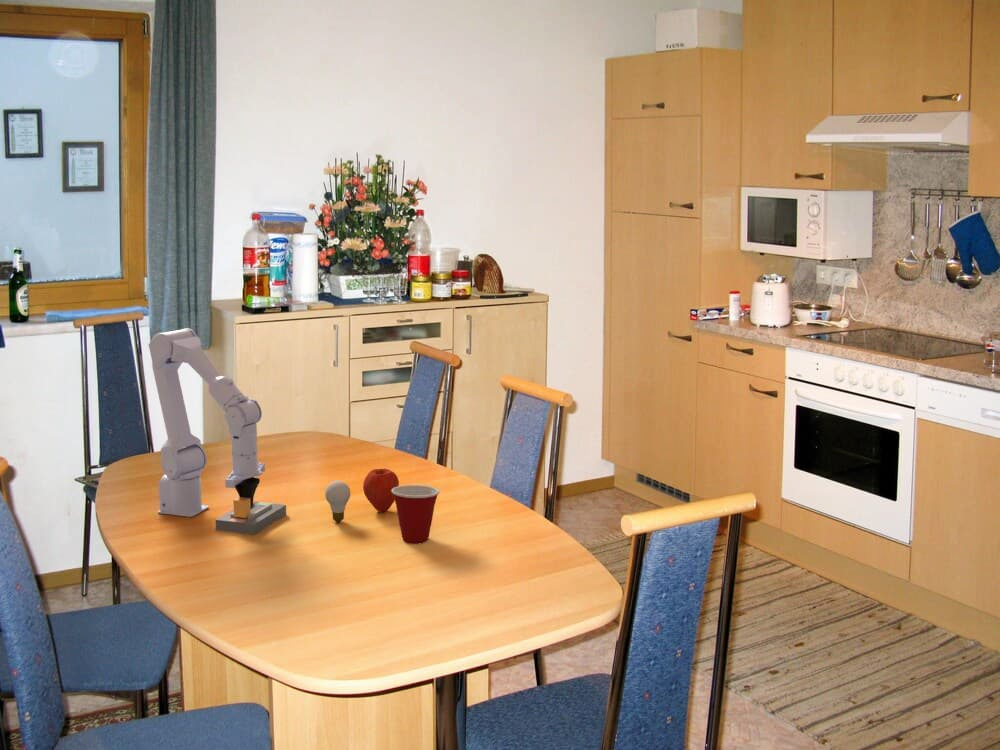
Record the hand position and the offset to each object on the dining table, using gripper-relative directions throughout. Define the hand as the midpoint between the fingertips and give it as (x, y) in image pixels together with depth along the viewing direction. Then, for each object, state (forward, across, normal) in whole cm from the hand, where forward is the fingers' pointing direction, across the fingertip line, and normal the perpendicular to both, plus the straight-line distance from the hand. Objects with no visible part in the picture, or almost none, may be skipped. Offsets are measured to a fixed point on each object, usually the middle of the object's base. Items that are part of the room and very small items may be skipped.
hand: (246, 509), depth 260 cm
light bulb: (+4, +9, -19) cm, 21 cm away
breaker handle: (+1, -2, 0) cm, 2 cm away
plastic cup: (+4, +4, -41) cm, 41 cm away
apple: (+4, +19, -26) cm, 32 cm away
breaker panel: (+4, +2, 0) cm, 4 cm away
